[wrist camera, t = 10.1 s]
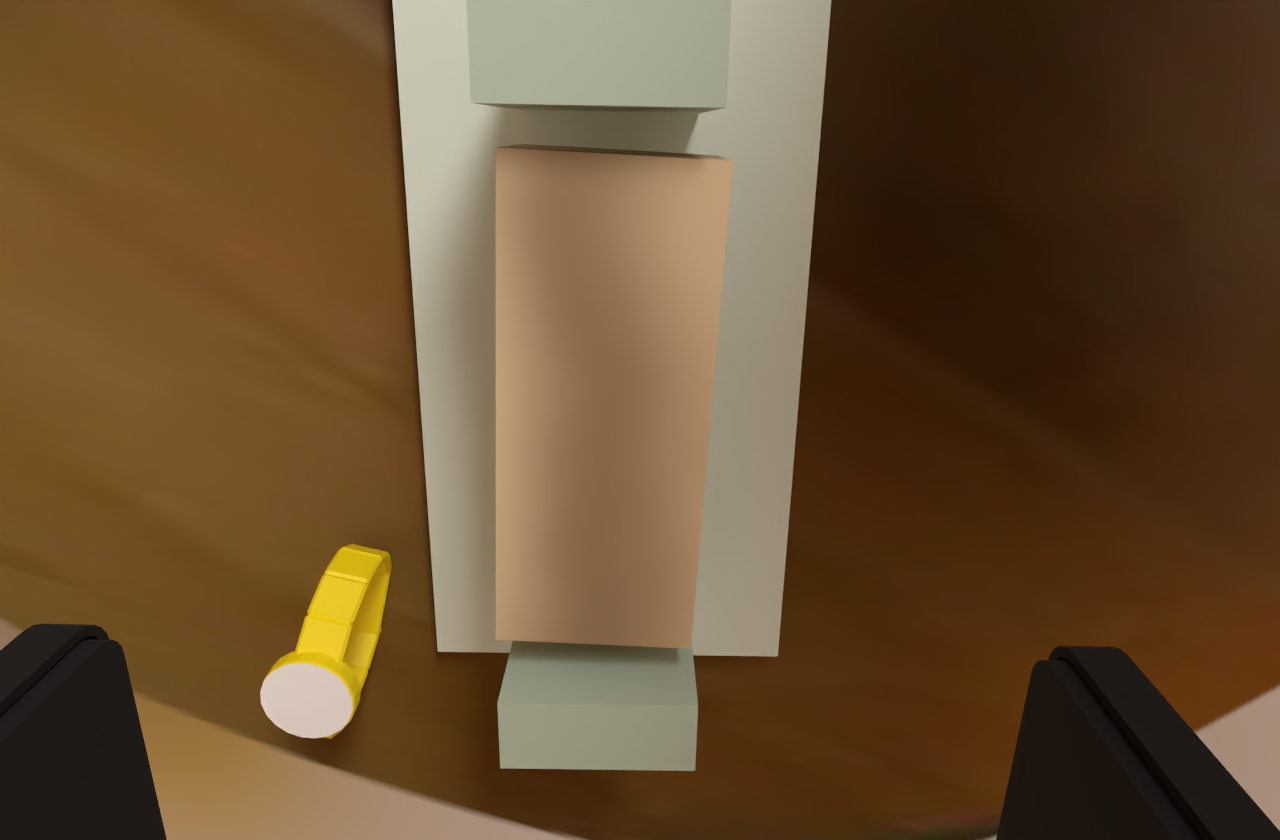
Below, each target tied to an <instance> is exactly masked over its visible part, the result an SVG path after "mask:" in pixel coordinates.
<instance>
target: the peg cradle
mask: <svg viewBox="0 0 1280 840" xmlns="http://www.w3.org/2000/svg"><path fill="white" fill-rule="evenodd" d="M392 3H393V17H394V31H395V46H396V60H397V74H398V89H399V103H400V117H401V132H402V146H403V161H404V175H405V189H406V204H407V218H408V232H409V247H410V261H411V275H412V290H413V304H414V318H415V333H416V347H417V361H418V376H419V390H420V404H421V419H422V433H423V447H424V462H425V476H426V490H427V505H428V519H429V534H430V548H431V562H432V577H433V591H434V605H435V620H436V634H437V648H438V652H495V653H510V654H509V658H508V662H507V666H506V670H505V674H504V678H503V682H502V686H501V690H500V694H499V698H498V702H497V706H498V729H499V751H500V768H513V769H589V770H665V771H695V763H696V742H697V721H698V699H697V689H696V679H695V670H694V660H693V655H709V656H778V648H779V635H780V623H781V611H782V599H783V586H784V574H785V562H786V550H787V537H788V525H789V513H790V501H791V488H792V476H793V464H794V452H795V439H796V427H797V415H798V403H799V390H800V378H801V366H802V354H803V341H804V329H805V317H806V305H807V292H808V280H809V268H810V256H811V243H812V231H813V219H814V207H815V194H816V182H817V170H818V158H819V145H820V133H821V121H822V109H823V97H824V84H825V72H826V60H827V48H828V35H829V23H830V11H831V0H392ZM516 144H533V145H551V146H568V147H585V148H603V149H620V150H637V151H655V152H672V153H689V154H707V155H718V156H721V157H723V158H726V159H729V160H732V161H733V168H732V179H731V191H730V203H729V214H728V226H727V237H726V249H725V260H724V272H723V283H722V295H721V306H720V318H719V329H718V341H717V353H716V364H715V376H714V387H713V399H712V410H711V422H710V433H709V445H708V456H707V468H706V479H705V491H704V503H703V514H702V526H701V537H700V549H699V560H698V572H697V583H696V595H695V606H694V618H693V629H692V641H691V649H685V648H663V647H642V646H620V645H599V644H577V643H556V642H534V641H513V640H496V147H502V146H509V145H516Z"/></svg>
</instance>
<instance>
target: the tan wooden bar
mask: <svg viewBox="0 0 1280 840" xmlns="http://www.w3.org/2000/svg"><path fill="white" fill-rule="evenodd" d="M732 168H733V161H732V160H729V159H726V158H723V157H721V156H718V155H707V154H689V153H672V152H655V151H637V150H620V149H603V148H585V147H568V146H551V145H533V144H516V145H509V146H502V147H496V640H513V641H534V642H556V643H577V644H599V645H620V646H642V647H663V648H685V649H691V641H692V629H693V618H694V606H695V595H696V583H697V572H698V560H699V549H700V537H701V526H702V514H703V503H704V491H705V479H706V468H707V456H708V445H709V433H710V422H711V410H712V399H713V387H714V376H715V364H716V353H717V341H718V329H719V318H720V306H721V295H722V283H723V272H724V260H725V249H726V237H727V226H728V214H729V203H730V191H731V179H732Z"/></svg>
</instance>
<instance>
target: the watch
mask: <svg viewBox="0 0 1280 840" xmlns="http://www.w3.org/2000/svg"><path fill="white" fill-rule="evenodd" d="M391 570H392V564H391V558H390V555H389V553H388V552H386V551H381V550H377V549H372V548H368V547H363V546H359V545H355V544H350V545H348V546H345V547H343V548H341V549H339V551H338V552H337V553H336V555H335V556H334V558H333V559H332V561H331V562H330V564H329V566H328V567H327V569H326V570H325V572H324V575H323V576H322V578H321V580H320V583H319V585H318V587H317V590H316V592H315V594H314V597H313V599H312V602H311V604H310V606H309V609H308V611H307V612H308V616H306V617H305V620H304V623H303V626H302V630H301V633H300V636H299V640H298V643H297V646H296V650H295V651H294V652H291V653H289V654H287V655H285V656H283V657H281V658H280V659H279V660H278V661H277V662H276V663H275V664H274V665H273V667H272V668H271V669H270V671H269V673H268V674H267V676H266V677H265V679H264V681H263V684H262V687H261V691H260V695H261V704H262V707H263V709H264V711H265V713H266V715H267V716H268V717H269V718H270V719H271V721H272V722H273V723H274V724H275V725H276V726H278V727H279V728H281V729H283V730H284V731H286V732H287V733H290V734H293V735H296V736H299V737H304V738H321V737H324V738H329V739H331V738H332V737H334V736H335V735H337V734H338V733H340V732H341V731H342V730H343V729H344V727H345V726H346V725H347V724H348V723H349V722H350V721H351V719H352V717H353V715H354V713H355V711H356V709H357V706H358V704H359V701H360V697H361V690H362V688H363V685H364V683H365V680H366V677H367V675H368V670H369V669H370V666H371V662H372V659H373V656H374V653H375V649H376V646H377V643H378V639H379V636H380V635H379V634H380V633H381V630H382V629H381V623H382V618H383V613H384V607H385V602H386V596H387V591H388V586H389V580H390V575H391Z"/></svg>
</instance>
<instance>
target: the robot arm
mask: <svg viewBox="0 0 1280 840" xmlns="http://www.w3.org/2000/svg"><path fill="white" fill-rule="evenodd" d="M0 840H166V835H165V830H164V826H163V822H162V818H161V814H160V809H159V805H158V800H157V796H156V791H155V787H154V782H153V778H152V774H151V769H150V765H149V761H148V756H147V752H146V747H145V743H144V739H143V734H142V730H141V726H140V721H139V717H138V713H137V708H136V704H135V699H134V695H133V691H132V686H131V682H130V678H129V673H128V669H127V664H126V660H125V656H124V652H123V650H122V647H121V645H120V644H119V643H118V642H117V641H114V640H109V637H108V635H107V633H106V632H105V631H104V630H103V629H102V628H101V627H98V626H96V625H73V624H38V625H33V626H31V627H30V628H28V629H26V630H25V631H23V632H22V633H21V634H20V635H18V636H17V637H16V638H15V639H14V640H13V641H11V642H10V643H9V644H8V645H7V646H5V647H4V648H3V649H2V650H1V651H0ZM996 840H1280V831H1279V830H1278V829H1277V828H1276V826H1275V825H1274V824H1273V823H1272V822H1271V821H1270V819H1268V817H1267V816H1266V815H1265V814H1264V813H1263V811H1262V810H1261V809H1260V808H1259V807H1258V806H1257V804H1256V803H1255V802H1254V801H1253V800H1252V799H1251V797H1250V796H1249V795H1248V794H1247V793H1246V792H1245V791H1244V789H1243V788H1242V787H1241V786H1240V785H1239V784H1238V782H1237V781H1236V780H1235V779H1234V778H1233V777H1232V776H1231V775H1230V773H1229V772H1228V771H1227V770H1226V769H1225V767H1224V766H1223V765H1222V764H1221V763H1220V762H1219V761H1218V759H1217V758H1216V757H1215V756H1214V755H1213V754H1212V752H1211V751H1210V750H1209V749H1208V748H1207V747H1206V745H1204V743H1203V742H1202V741H1201V740H1200V739H1199V737H1198V736H1197V735H1196V734H1195V733H1194V732H1193V730H1192V729H1191V728H1190V727H1189V726H1188V725H1187V723H1186V722H1185V721H1184V720H1183V719H1182V718H1181V717H1180V715H1179V714H1178V713H1177V712H1176V711H1175V710H1174V708H1173V707H1172V706H1171V705H1170V704H1169V703H1168V702H1167V700H1166V699H1165V698H1164V697H1163V696H1162V695H1161V693H1160V692H1159V691H1158V690H1157V689H1156V688H1155V686H1154V685H1153V684H1152V683H1151V682H1150V681H1149V680H1148V678H1147V677H1146V676H1145V675H1144V674H1143V673H1142V671H1141V670H1140V669H1139V668H1138V667H1137V666H1136V665H1135V663H1134V662H1133V661H1132V660H1131V659H1130V658H1129V656H1128V655H1127V654H1125V653H1124V652H1123V651H1122V650H1121V649H1118V648H1114V647H1084V646H1059V647H1057V648H1055V649H1054V650H1053V651H1052V653H1051V654H1050V656H1049V659H1048V660H1040V661H1038V662H1037V663H1036V664H1035V665H1034V667H1033V670H1032V673H1031V678H1030V683H1029V687H1028V692H1027V697H1026V702H1025V706H1024V711H1023V716H1022V721H1021V725H1020V730H1019V735H1018V739H1017V744H1016V749H1015V754H1014V758H1013V763H1012V768H1011V773H1010V777H1009V782H1008V787H1007V791H1006V796H1005V801H1004V806H1003V810H1002V815H1001V820H1000V825H999V829H998V834H997V839H996Z"/></svg>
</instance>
